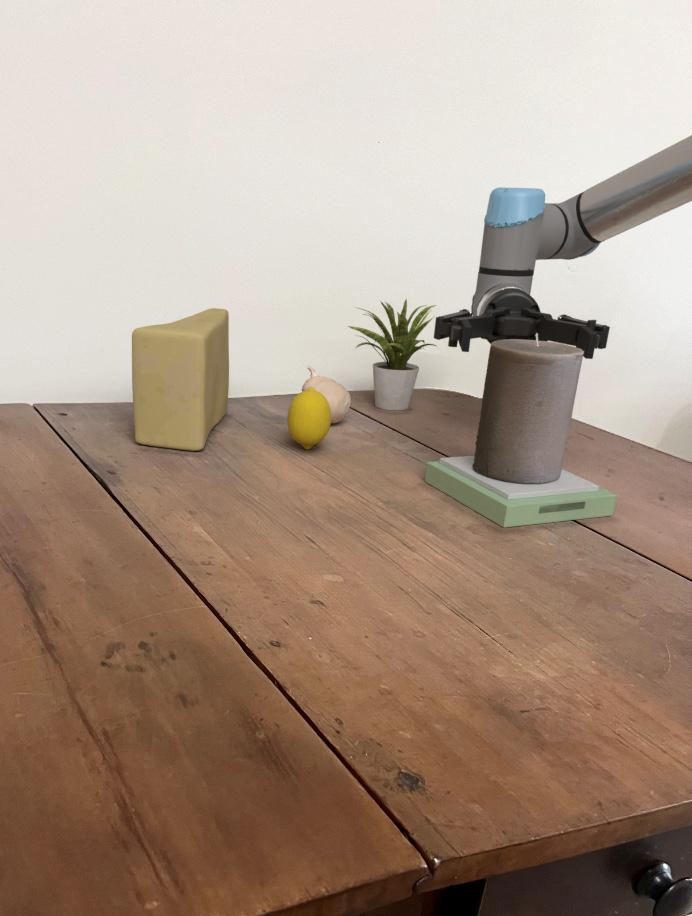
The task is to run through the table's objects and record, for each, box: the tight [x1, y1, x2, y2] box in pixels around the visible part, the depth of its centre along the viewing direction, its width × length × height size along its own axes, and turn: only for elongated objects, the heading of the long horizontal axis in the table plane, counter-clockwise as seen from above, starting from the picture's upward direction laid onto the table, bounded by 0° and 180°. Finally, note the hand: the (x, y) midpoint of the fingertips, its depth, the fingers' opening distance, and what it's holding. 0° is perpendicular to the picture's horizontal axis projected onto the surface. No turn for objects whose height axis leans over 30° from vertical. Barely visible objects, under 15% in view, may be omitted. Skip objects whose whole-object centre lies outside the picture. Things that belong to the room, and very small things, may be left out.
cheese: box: [131, 307, 230, 452], centre depth 123 cm, size 22×10×15 cm, turn 162°
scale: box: [424, 455, 618, 528], centre depth 103 cm, size 16×14×3 cm
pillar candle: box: [472, 333, 584, 483], centre depth 100 cm, size 10×10×15 cm
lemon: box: [286, 388, 332, 450], centre depth 117 cm, size 6×6×8 cm
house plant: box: [347, 298, 439, 411], centre depth 140 cm, size 14×14×16 cm
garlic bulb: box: [301, 364, 352, 424], centre depth 130 cm, size 7×6×8 cm
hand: (528, 343), depth 103 cm, fingers open, 13 cm apart
